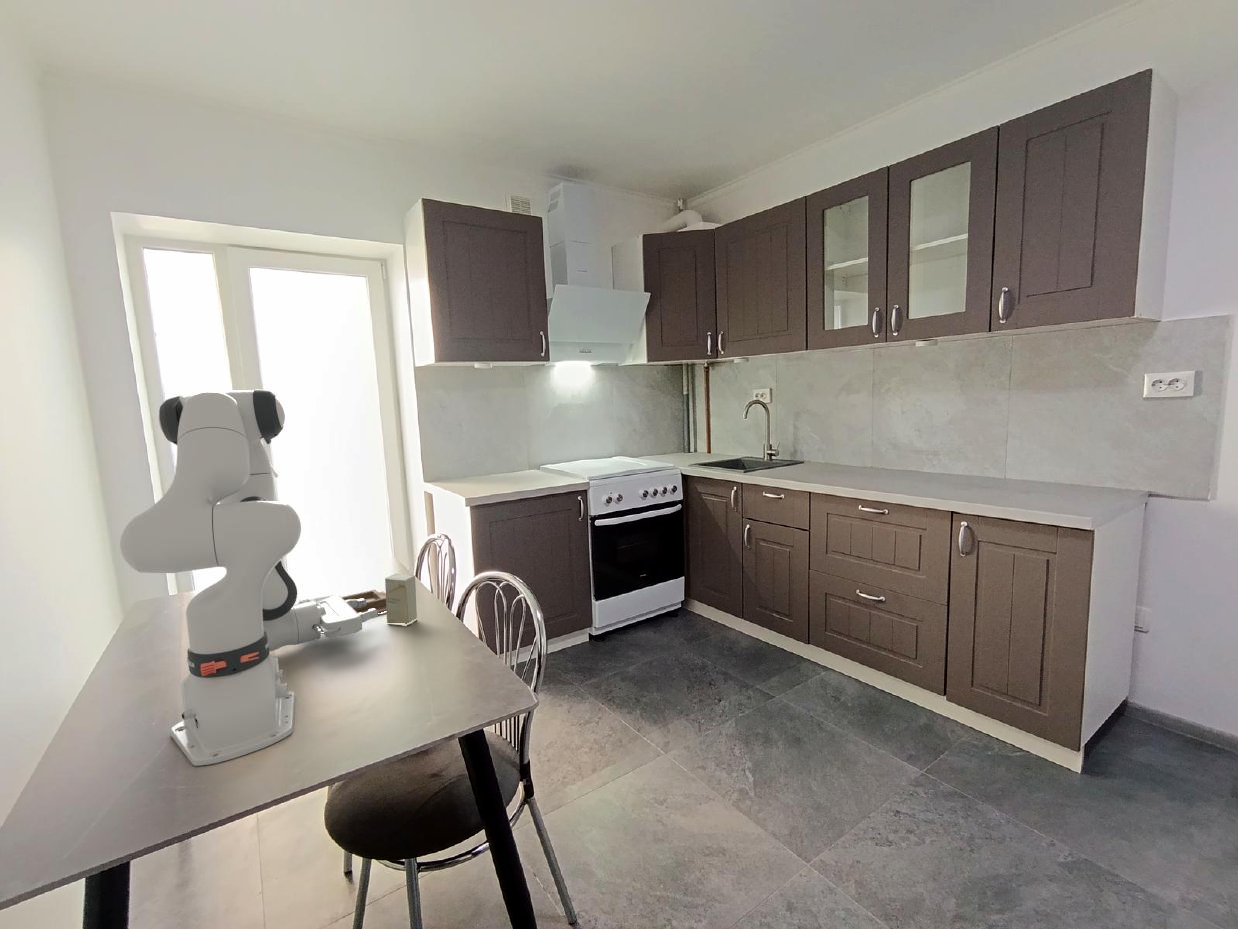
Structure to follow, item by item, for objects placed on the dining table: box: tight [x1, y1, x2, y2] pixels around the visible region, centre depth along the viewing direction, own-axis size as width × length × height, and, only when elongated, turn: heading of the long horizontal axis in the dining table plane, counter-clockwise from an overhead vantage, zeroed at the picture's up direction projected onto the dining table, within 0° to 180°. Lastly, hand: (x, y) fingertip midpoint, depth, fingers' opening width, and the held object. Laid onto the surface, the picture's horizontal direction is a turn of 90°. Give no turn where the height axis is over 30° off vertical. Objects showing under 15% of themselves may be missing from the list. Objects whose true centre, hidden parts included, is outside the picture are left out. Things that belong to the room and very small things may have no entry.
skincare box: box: [384, 573, 418, 624], centre depth 146 cm, size 6×4×12 cm
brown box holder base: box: [341, 589, 387, 613], centre depth 157 cm, size 16×16×3 cm
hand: (371, 607), depth 141 cm, fingers open, 8 cm apart
